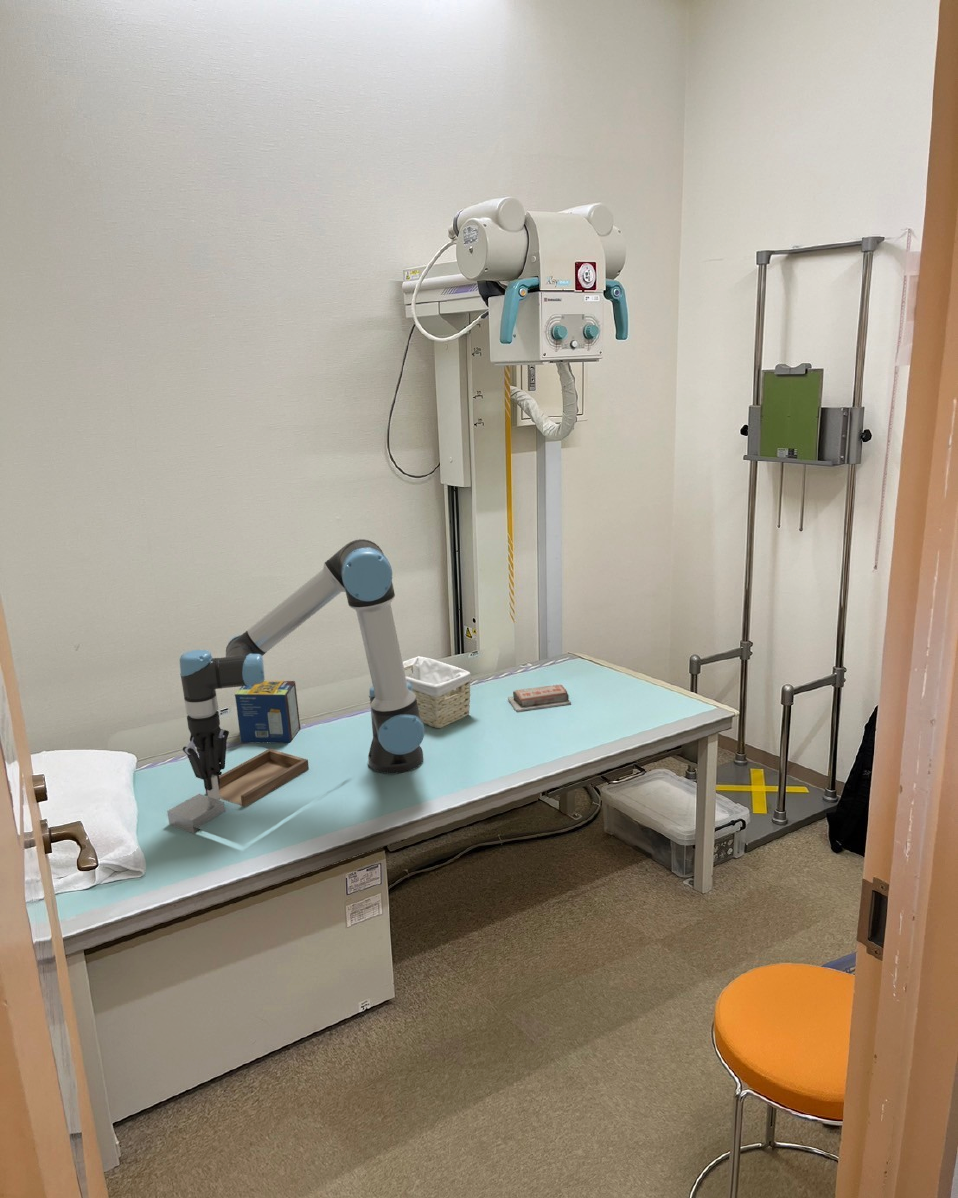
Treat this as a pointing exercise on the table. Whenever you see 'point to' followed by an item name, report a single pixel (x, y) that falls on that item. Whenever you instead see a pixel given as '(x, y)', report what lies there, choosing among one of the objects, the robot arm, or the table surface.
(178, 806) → the gray rectangular block
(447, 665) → the storage basket
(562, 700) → the packaged product
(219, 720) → the robot arm
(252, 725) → the protein box
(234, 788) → the walnut box
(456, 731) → the table surface
